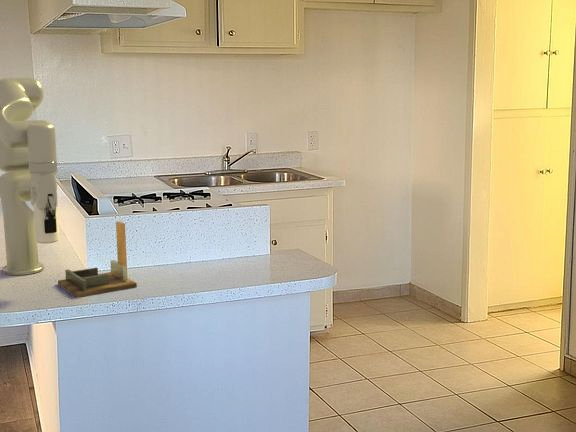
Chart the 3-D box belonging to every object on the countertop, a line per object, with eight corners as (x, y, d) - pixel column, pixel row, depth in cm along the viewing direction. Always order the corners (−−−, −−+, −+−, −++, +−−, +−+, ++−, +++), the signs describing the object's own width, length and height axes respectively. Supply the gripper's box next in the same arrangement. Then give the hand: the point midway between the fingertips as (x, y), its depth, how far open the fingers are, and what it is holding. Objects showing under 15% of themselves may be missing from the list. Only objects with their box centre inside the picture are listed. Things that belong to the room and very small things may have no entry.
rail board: (58, 284, 232) (58, 280, 232) (115, 275, 242) (115, 271, 242) (76, 297, 219) (76, 293, 219) (136, 287, 229) (136, 283, 229)
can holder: (65, 279, 232) (65, 269, 232) (93, 275, 237) (93, 265, 237) (83, 291, 220) (82, 281, 220) (112, 286, 225) (111, 276, 224)
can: (61, 238, 226) (59, 197, 223) (56, 243, 219) (53, 201, 217) (39, 238, 225) (36, 197, 223) (32, 243, 219) (29, 201, 217)
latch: (111, 273, 237) (108, 220, 234) (118, 272, 239) (116, 219, 236) (123, 281, 230) (120, 226, 226) (131, 279, 231) (128, 225, 228)
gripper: (20, 165, 223) (24, 226, 227) (39, 173, 209) (43, 238, 213) (46, 163, 227) (50, 223, 231) (66, 170, 213) (70, 234, 217)
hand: (46, 229), depth 222 cm, fingers closed on can, 6 cm apart
